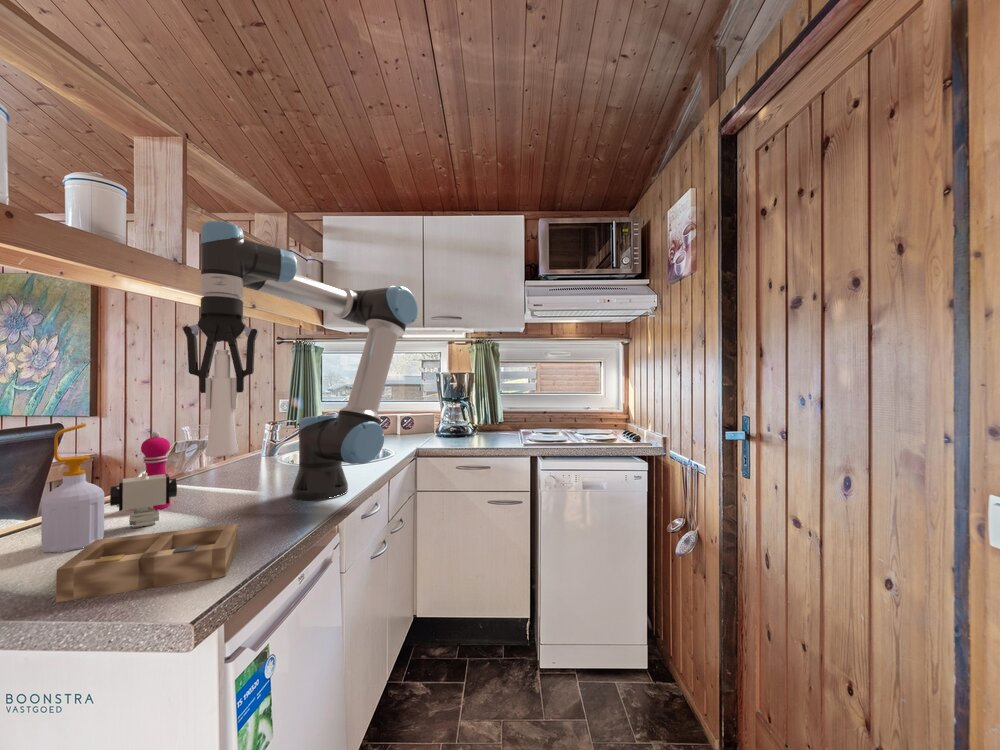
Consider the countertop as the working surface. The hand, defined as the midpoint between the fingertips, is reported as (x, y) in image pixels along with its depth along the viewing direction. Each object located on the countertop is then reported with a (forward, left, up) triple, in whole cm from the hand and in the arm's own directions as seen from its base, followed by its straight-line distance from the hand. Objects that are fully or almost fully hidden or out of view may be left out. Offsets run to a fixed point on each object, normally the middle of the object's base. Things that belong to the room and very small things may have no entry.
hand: (222, 408), depth 91 cm
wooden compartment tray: (+7, +13, -28) cm, 32 cm away
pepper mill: (+20, -33, -28) cm, 48 cm away
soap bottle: (+27, -9, -28) cm, 40 cm away
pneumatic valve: (+18, -18, -28) cm, 38 cm away
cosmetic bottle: (0, 0, -10) cm, 10 cm away
